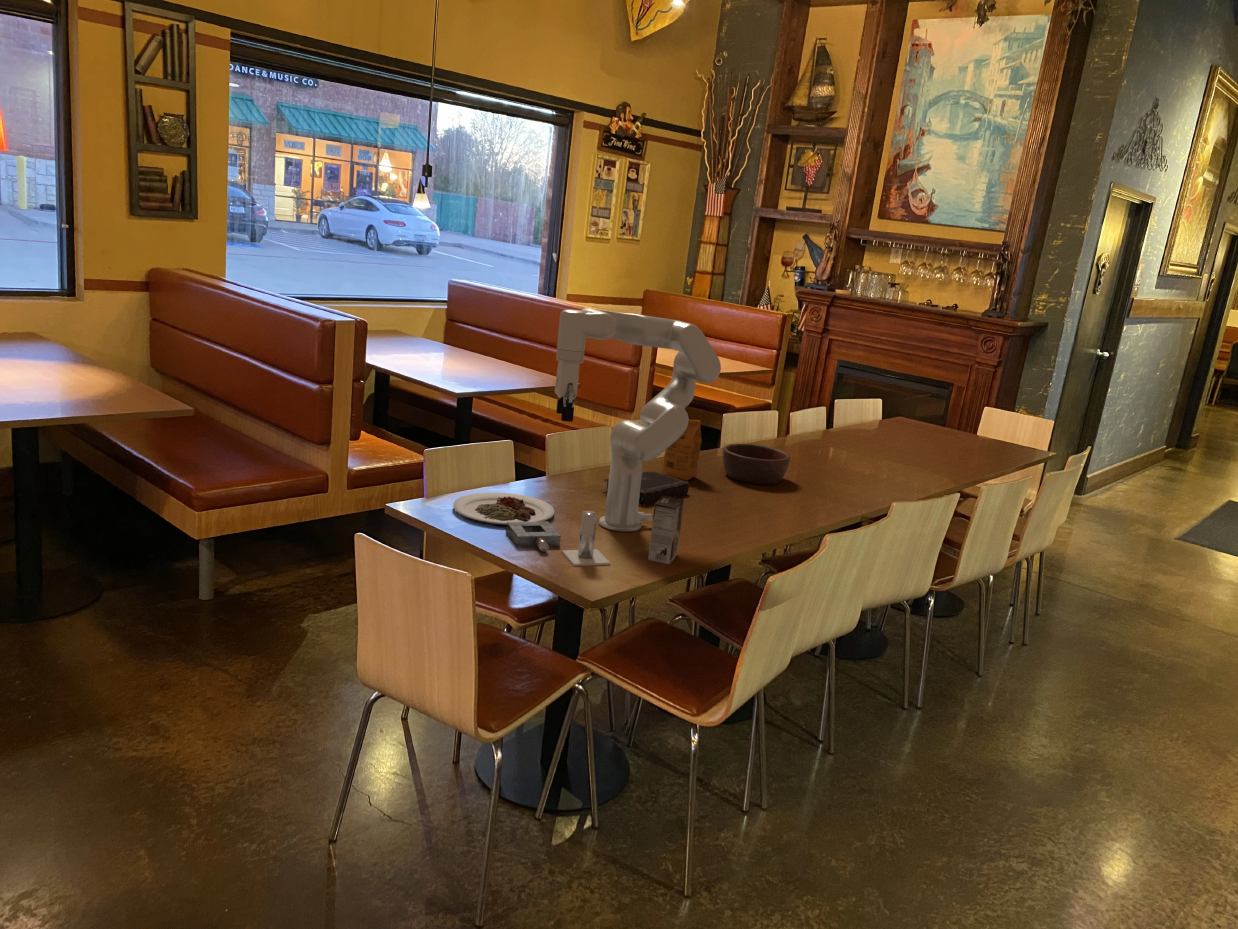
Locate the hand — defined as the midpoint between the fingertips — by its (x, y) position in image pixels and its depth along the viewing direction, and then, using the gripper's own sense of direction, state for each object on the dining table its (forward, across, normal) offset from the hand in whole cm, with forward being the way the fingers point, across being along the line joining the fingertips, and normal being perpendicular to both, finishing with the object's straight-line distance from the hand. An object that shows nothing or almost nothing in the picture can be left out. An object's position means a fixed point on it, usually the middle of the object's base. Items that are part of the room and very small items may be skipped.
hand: (564, 417), depth 260 cm
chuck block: (+33, +10, -6) cm, 35 cm away
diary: (+34, -43, +37) cm, 66 cm away
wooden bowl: (+34, -71, +85) cm, 116 cm away
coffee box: (+34, +18, +28) cm, 47 cm away
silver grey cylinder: (+33, +21, +6) cm, 39 cm away
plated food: (+34, -16, -13) cm, 39 cm away
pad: (+33, +21, +6) cm, 40 cm away
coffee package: (+34, -68, +55) cm, 93 cm away
